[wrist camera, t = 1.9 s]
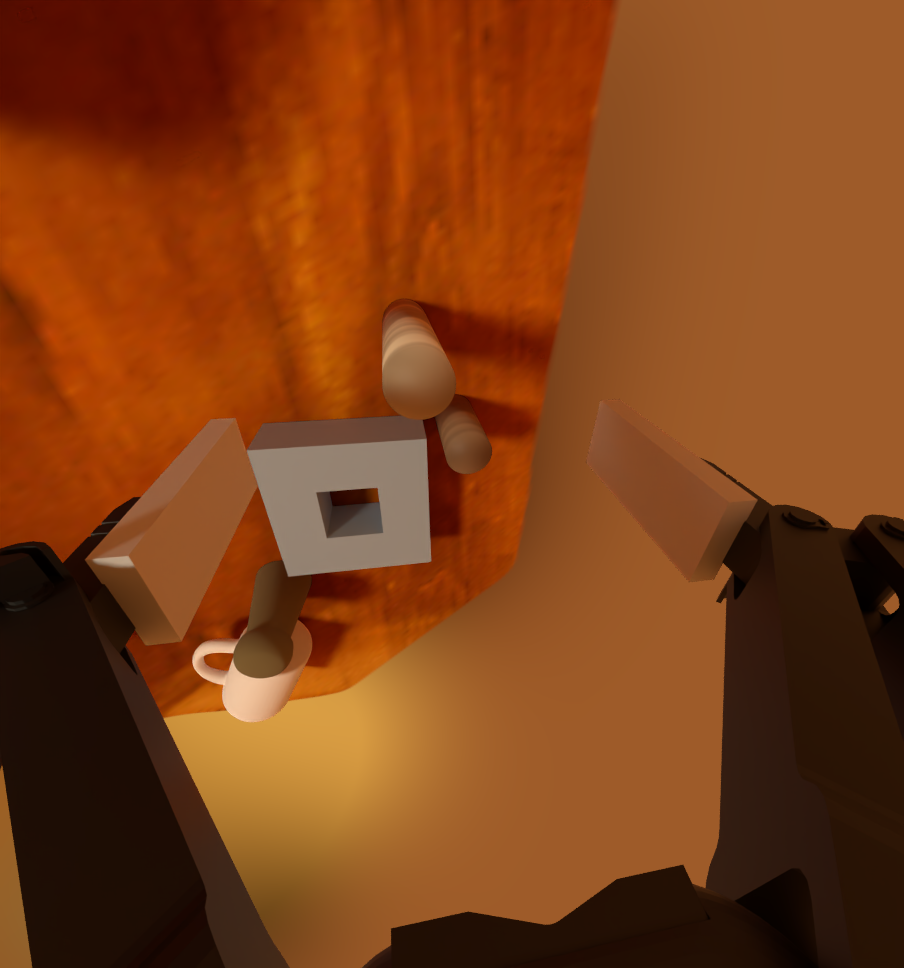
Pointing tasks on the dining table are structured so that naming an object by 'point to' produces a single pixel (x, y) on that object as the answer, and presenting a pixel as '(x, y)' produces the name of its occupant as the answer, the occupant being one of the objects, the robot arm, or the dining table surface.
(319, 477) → the hole block
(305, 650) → the mug
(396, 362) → the long pin
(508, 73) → the dining table surface
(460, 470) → the short pin
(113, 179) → the dining table surface
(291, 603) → the cork
